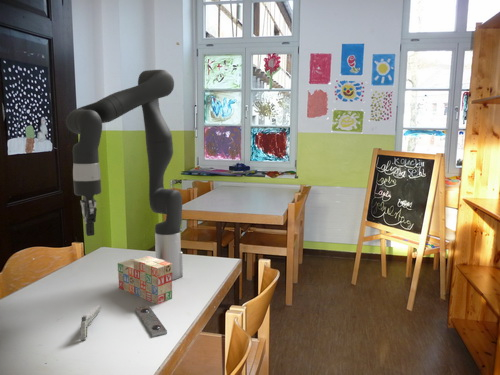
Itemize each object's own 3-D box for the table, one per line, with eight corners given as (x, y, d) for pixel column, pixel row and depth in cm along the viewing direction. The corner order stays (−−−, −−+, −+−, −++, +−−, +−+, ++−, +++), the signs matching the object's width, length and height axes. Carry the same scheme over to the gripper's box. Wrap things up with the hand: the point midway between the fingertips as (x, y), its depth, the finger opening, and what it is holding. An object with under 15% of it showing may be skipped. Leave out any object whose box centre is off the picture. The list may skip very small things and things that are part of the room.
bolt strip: (149, 308, 126) (148, 305, 126) (167, 333, 111) (166, 330, 111) (136, 310, 125) (135, 307, 124) (152, 336, 109) (152, 333, 109)
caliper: (85, 341, 107) (84, 319, 106) (81, 341, 107) (80, 319, 106) (101, 308, 127) (100, 289, 126) (97, 308, 127) (96, 289, 126)
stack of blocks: (118, 288, 142) (116, 254, 141) (133, 283, 147) (132, 250, 145) (157, 305, 129) (157, 267, 128) (173, 298, 134) (172, 262, 132)
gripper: (104, 180, 117) (107, 238, 119) (96, 175, 128) (99, 228, 131) (76, 181, 113) (79, 242, 116) (70, 176, 125) (74, 231, 127)
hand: (90, 235), depth 123 cm, fingers closed
